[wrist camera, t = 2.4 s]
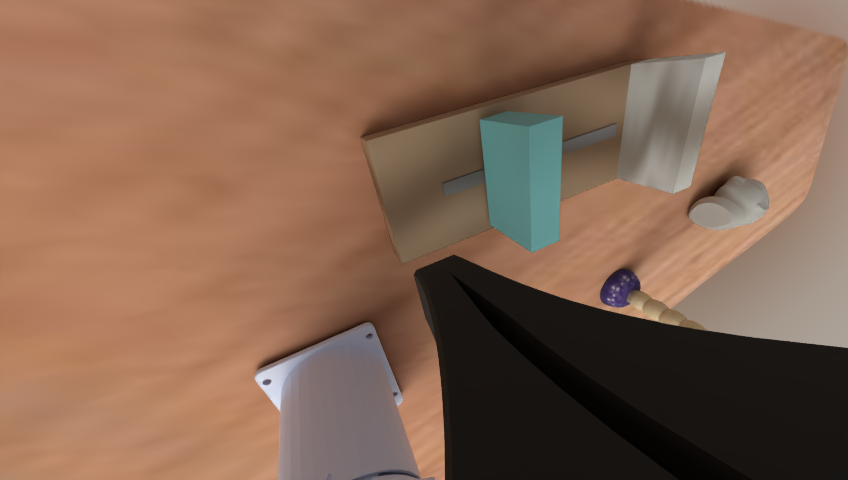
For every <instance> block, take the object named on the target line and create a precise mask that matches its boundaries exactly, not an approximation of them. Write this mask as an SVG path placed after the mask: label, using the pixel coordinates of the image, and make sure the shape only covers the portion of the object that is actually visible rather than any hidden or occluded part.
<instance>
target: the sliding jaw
mask: <svg viewBox="0 0 848 480" xmlns="http://www.w3.org/2000/svg"><path fill="white" fill-rule="evenodd" d="M562 127H563V116H558V115H547V114H535V113H524V112H513V111H506V112H503V113H500V114H496V115H493V116H490V117H486V118H483V119H480V130H481V139H482V149H483V159H484V169H485V179H486V189H487V199H488V208H489V218H490V225H491V226H493V227H494V228H496V229H497V230H499V231H500V232H502V233H503V234H505V235H506V236H508V237H509V238H511V239H512V240H514V241H515V242H517V243H518V244H520V245H521V246H522V247H524V248H525V249H527V250H528V251H530V252H531V253H532V252H534V251H536V250H539V249H541V248H543V247H546V246H548V245H550V244H552V243H555V242H557V241H559V220H560V189H561V158H562Z"/></svg>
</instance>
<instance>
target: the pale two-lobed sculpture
mask: <svg viewBox="0 0 848 480" xmlns="http://www.w3.org/2000/svg"><path fill="white" fill-rule="evenodd" d="M768 207H769V197H768V193H767V190H766V188H765V186H764V184H763V183H761V182H760V181H757V180H754V179H749V178H742V177H740V176H733V177H731V178H730V179H729V180H728V181H727V182H726V183H725V184H724V185H723V186H722V187H721V188H719V189H718V191H717V192H716V193H715V194H714V196H712V197H705V198H702V199H700V200H698V201H696V202H695V203H694V204H693V205H692V206H691V207H690V210H689V213H688V215H689V218H690V220H691V221H692V222H693V223H695V224H696V225H698V226H701V227H703V228H706V229H710V230H728V229H732V228H735V227H738V226H742V225H748V224H751V223H753V222H755V221H757V220H758V219H760V218H761V217H762V216H763V215H764V214H765V213H766V211H767V210H768Z"/></svg>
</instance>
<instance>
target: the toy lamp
mask: <svg viewBox="0 0 848 480" xmlns="http://www.w3.org/2000/svg"><path fill="white" fill-rule="evenodd" d="M600 297H601V301H602V302H603V303H604V304H606V305H609V306H612V307H624V306H627V305H629V304H631V305H632V306H633V307H634V308H636V309H638V310H641V311H643V312H644V313H645V314H646V315H647V316H648V317H650V318H651V319H653V320H656V321H659V322H660V323H665V324H671V325H676V326H682V327H688V328H693V329H699V330H706V329H705V328H704V327H703V326H702V325H700V324H698V323H696V322H694V321H691V320H687V318H686V317H685V316H684V315H683V314H681V313H680V312H678V311H675V310H672V309H669V308H668V307H667V306H666V305H665V304H664V303H662V302H660V301H658V300H654V299H652V298H651V297H650V296H649V295H648V294H646V293H644V292H642V291H640V282H639V279H638V278H637V276H636V275H635V274H634V273H633V272H631V271H630V270H627V269H623V270H620V271H618V272H616V273H615V274H613V275H612V276H611V277H610V278H609V279H608V280H607V281H606V283H605V284H604V286H603V288H602V290H601V295H600ZM706 331H707V330H706Z"/></svg>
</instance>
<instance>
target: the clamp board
mask: <svg viewBox="0 0 848 480" xmlns="http://www.w3.org/2000/svg"><path fill="white" fill-rule="evenodd" d="M725 53H726V52H720V53H709V54H698V55H687V56H676V57H666V58H655V59H652V58H648V59H638V60H629V61H625V62H622V63H618V64H615V65H611V66H608V67H604V68H601V69H597V70H594V71H590V72H587V73H583V74H580V75H576V76H573V77H569V78H566V79H562V80H559V81H555V82H552V83H548V84H545V85H541V86H538V87H534V88H531V89H527V90H524V91H520V92H517V93H513V94H510V95H506V96H503V97H499V98H496V99H492V100H489V101H485V102H482V103H478V104H475V105H471V106H468V107H464V108H461V109H457V110H454V111H450V112H447V113H443V114H440V115H436V116H433V117H429V118H426V119H422V120H419V121H415V122H412V123H408V124H405V125H401V126H398V127H394V128H391V129H387V130H384V131H380V132H377V133H373V134H370V135H366V136H363V137H360V138H361V142H362V145H363V148H364V152H365V155H366V158H367V161H368V165H369V168H370V171H371V175H372V178H373V181H374V185H375V188H376V191H377V195H378V198H379V201H380V204H381V208H382V211H383V214H384V218H385V221H386V224H387V228H388V231H389V234H390V238H391V241H392V244H393V248H394V251H395V254H396V255H397V257H398V258H399V260H400V261H401V263H402V264H404V263H406V262H409V261H411V260H414V259H416V258H419V257H421V256H424V255H426V254H429V253H431V252H434V251H436V250H439V249H441V248H444V247H446V246H449V245H451V244H454V243H456V242H459V241H461V240H464V239H466V238H469V237H471V236H474V235H476V234H479V233H481V232H484V231H486V230H489V229H491V228H494V227H493V226H491V225H490V218H489V208H488V199H487V189H486V179H485V169H484V159H483V149H482V139H481V130H480V119H483V118H486V117H490V116H493V115H496V114H500V113H503V112H506V111H513V112H524V113H535V114H547V115H558V116H563V127H562V158H561V189H560V201H561V200H564V199H566V198H569V197H571V196H574V195H577V194H579V193H582V192H584V191H587V190H589V189H592V188H594V187H597V186H599V185H602V184H604V183H607V182H609V181H612V180H614V179H620V180H624V181H628V182H631V183H635V184H639V185H642V186H646V187H650V188H654V189H657V190H661V191H665V192H669V193H672V194H674V193H676V192H679V191H681V190H683V189H685V188H688V187H690V185H691V181H692V178H693V174H694V170H695V166H696V162H697V159H698V155H699V151H700V147H701V144H702V140H703V136H704V132H705V129H706V125H707V121H708V117H709V114H710V110H711V106H712V102H713V99H714V95H715V91H716V87H717V83H718V80H719V76H720V72H721V68H722V65H723V61H724V57H725Z"/></svg>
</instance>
